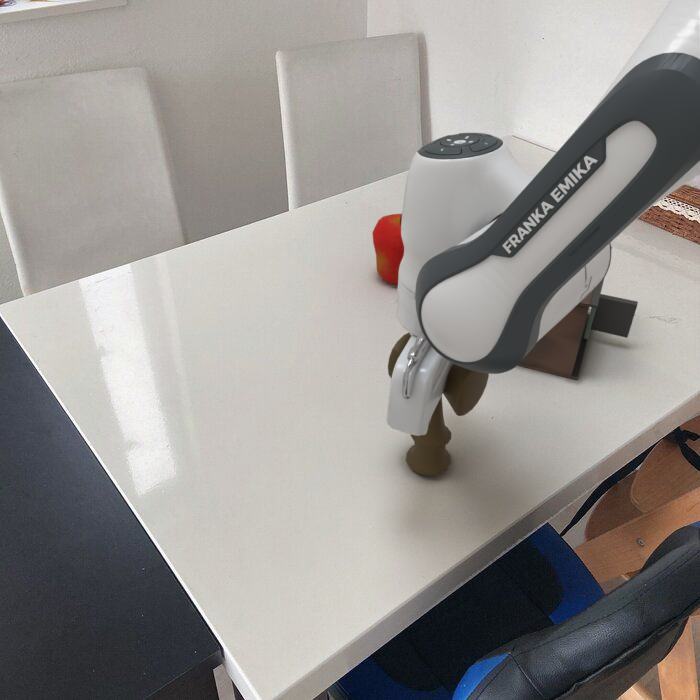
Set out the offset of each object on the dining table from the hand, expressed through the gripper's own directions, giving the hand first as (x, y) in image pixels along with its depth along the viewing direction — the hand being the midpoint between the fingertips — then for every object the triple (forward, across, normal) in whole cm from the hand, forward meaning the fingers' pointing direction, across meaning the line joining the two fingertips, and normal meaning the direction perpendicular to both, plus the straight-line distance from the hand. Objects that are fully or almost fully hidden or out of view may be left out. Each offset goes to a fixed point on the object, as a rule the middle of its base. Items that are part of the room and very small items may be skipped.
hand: (431, 406), depth 74 cm
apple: (+9, +37, +17) cm, 41 cm away
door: (+8, +35, -16) cm, 39 cm away
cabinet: (+9, +30, -7) cm, 32 cm away
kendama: (+9, 0, 0) cm, 9 cm away
